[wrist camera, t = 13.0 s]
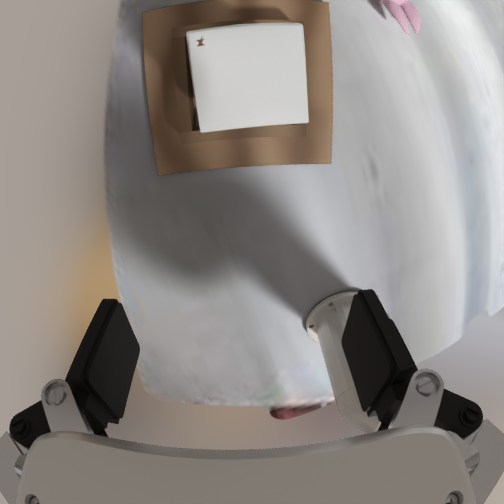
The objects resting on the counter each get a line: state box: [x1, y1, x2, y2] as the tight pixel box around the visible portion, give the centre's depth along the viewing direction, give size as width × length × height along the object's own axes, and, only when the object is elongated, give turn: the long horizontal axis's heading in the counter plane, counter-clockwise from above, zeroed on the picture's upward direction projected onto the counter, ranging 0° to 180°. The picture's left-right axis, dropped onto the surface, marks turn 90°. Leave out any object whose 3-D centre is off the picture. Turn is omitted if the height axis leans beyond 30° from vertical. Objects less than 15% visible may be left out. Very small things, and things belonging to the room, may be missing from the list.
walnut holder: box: [142, 0, 333, 175], centre depth 24 cm, size 20×20×4 cm
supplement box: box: [186, 23, 309, 133], centre depth 19 cm, size 7×7×13 cm
